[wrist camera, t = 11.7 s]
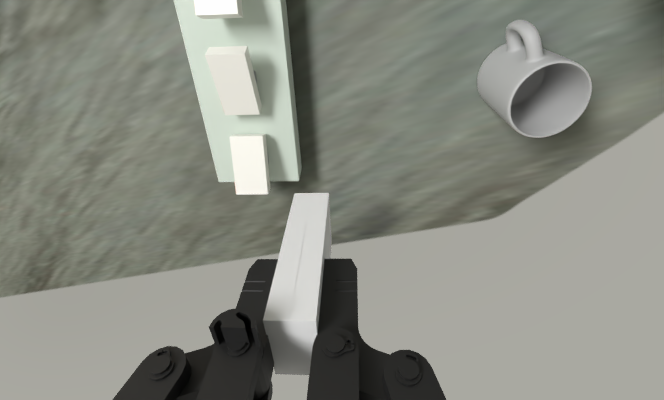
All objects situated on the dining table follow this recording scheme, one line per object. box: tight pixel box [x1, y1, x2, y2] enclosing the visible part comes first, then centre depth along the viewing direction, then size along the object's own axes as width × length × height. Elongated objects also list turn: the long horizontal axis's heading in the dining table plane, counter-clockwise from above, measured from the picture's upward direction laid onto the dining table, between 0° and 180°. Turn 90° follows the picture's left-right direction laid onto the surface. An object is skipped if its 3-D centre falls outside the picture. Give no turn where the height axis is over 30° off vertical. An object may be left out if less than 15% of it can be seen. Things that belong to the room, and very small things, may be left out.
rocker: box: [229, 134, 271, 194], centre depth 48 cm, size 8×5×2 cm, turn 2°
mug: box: [477, 20, 592, 138], centre depth 41 cm, size 12×8×11 cm
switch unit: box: [174, 0, 302, 182], centre depth 45 cm, size 30×12×5 cm, turn 2°
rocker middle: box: [205, 46, 262, 115], centre depth 42 cm, size 8×4×2 cm, turn 2°
